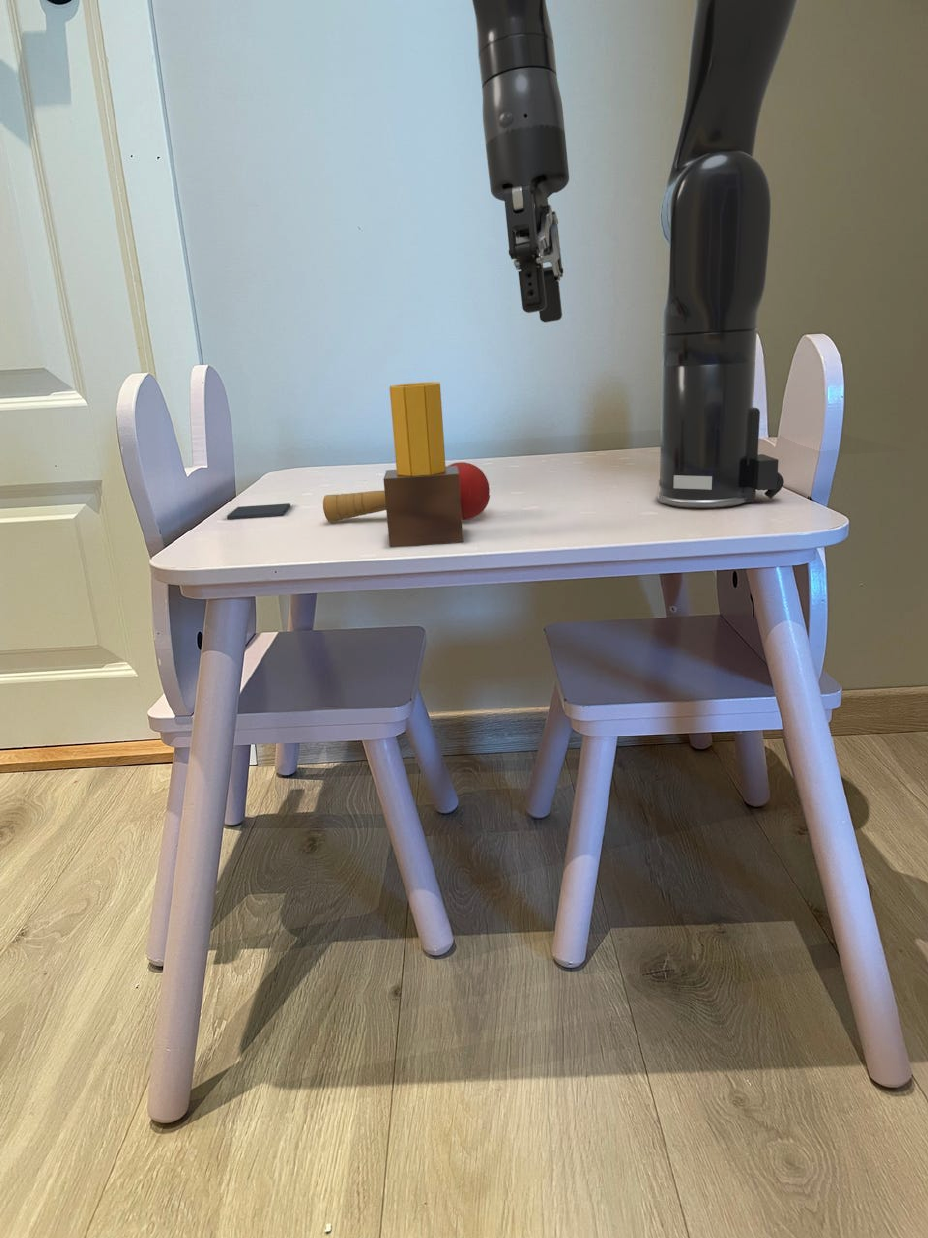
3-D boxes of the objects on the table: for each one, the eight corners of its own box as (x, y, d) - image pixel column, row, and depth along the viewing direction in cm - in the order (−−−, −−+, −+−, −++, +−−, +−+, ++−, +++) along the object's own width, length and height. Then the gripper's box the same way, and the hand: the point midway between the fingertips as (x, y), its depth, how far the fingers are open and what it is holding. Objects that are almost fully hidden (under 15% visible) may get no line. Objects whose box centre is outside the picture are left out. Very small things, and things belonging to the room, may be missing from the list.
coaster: (290, 506, 101) (289, 503, 101) (282, 515, 96) (282, 512, 96) (238, 509, 101) (237, 506, 101) (227, 519, 96) (226, 515, 96)
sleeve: (445, 466, 81) (439, 381, 78) (446, 473, 76) (440, 384, 74) (398, 469, 81) (390, 384, 78) (396, 477, 76) (388, 387, 74)
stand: (461, 530, 83) (454, 413, 79) (463, 542, 78) (455, 417, 74) (391, 535, 83) (381, 417, 79) (389, 547, 78) (378, 422, 74)
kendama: (319, 543, 87) (486, 516, 83) (308, 483, 86) (476, 452, 82) (344, 539, 94) (499, 513, 90) (334, 483, 93) (489, 455, 89)
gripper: (550, 100, 70) (570, 300, 74) (575, 150, 84) (591, 317, 87) (466, 122, 73) (489, 315, 76) (504, 166, 86) (522, 329, 89)
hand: (543, 316), depth 81 cm, fingers open, 8 cm apart
